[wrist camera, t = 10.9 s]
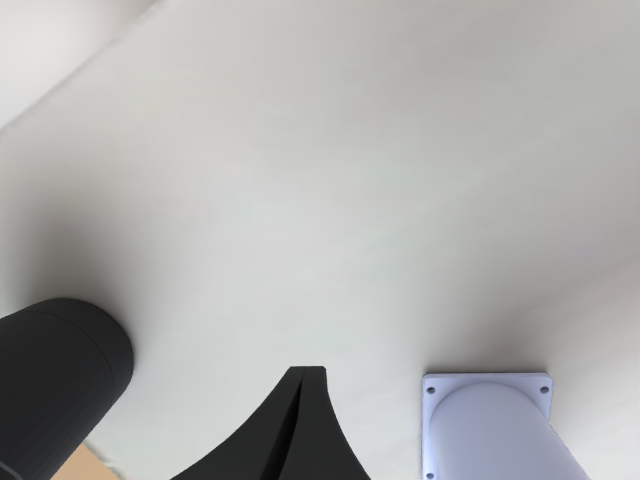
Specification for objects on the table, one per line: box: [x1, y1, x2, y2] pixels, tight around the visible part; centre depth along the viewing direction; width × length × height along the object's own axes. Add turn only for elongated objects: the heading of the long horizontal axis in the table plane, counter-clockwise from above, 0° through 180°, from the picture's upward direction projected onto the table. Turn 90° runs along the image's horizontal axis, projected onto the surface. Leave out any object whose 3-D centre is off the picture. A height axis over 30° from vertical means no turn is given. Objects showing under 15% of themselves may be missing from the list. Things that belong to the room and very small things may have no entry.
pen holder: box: [0, 298, 134, 480], centre depth 20 cm, size 9×9×10 cm
